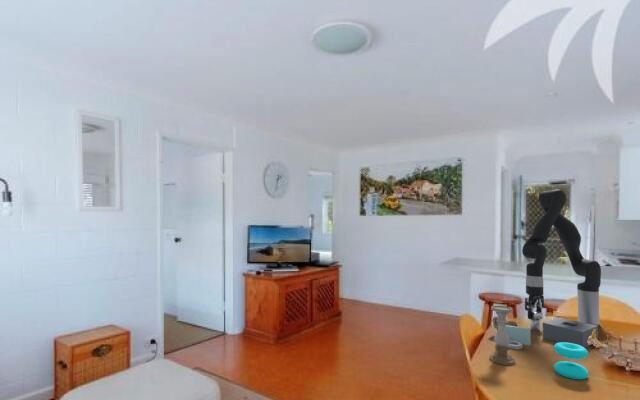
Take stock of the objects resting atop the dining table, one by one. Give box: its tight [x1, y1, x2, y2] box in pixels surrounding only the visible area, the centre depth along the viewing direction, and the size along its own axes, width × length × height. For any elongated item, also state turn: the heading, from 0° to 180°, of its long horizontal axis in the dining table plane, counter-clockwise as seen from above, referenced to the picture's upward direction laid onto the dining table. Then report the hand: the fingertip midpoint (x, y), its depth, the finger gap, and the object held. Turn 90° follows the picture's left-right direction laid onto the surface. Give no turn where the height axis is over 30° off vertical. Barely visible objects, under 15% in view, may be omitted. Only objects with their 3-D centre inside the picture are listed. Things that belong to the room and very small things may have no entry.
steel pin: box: [529, 310, 544, 332], centre depth 181 cm, size 6×6×8 cm
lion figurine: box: [491, 315, 518, 331], centre depth 173 cm, size 15×5×9 cm, turn 108°
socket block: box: [542, 316, 599, 349], centre depth 167 cm, size 16×16×7 cm
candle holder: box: [489, 305, 516, 366], centre depth 142 cm, size 9×9×20 cm
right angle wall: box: [506, 325, 531, 350], centre depth 158 cm, size 12×12×8 cm
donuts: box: [553, 342, 589, 380], centre depth 130 cm, size 10×10×10 cm
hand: (534, 317), depth 181 cm, fingers open, 8 cm apart
